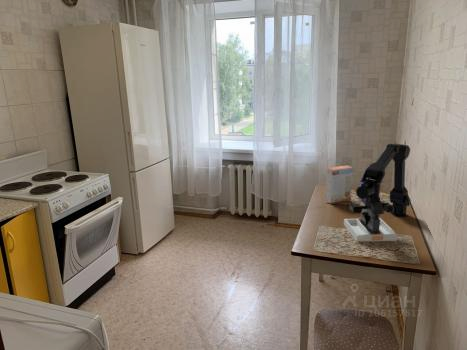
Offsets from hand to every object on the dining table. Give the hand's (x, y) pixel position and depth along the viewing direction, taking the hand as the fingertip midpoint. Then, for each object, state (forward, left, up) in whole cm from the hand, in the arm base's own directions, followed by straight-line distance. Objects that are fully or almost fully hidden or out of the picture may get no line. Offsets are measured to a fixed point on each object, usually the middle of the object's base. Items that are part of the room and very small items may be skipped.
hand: (369, 224), depth 161 cm
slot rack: (0, 0, -4) cm, 4 cm away
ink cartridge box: (-16, -43, -4) cm, 46 cm away
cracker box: (+2, -43, -4) cm, 43 cm away
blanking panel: (0, 0, -2) cm, 2 cm away
